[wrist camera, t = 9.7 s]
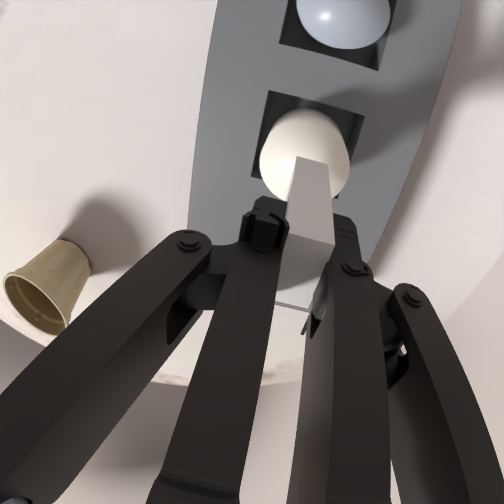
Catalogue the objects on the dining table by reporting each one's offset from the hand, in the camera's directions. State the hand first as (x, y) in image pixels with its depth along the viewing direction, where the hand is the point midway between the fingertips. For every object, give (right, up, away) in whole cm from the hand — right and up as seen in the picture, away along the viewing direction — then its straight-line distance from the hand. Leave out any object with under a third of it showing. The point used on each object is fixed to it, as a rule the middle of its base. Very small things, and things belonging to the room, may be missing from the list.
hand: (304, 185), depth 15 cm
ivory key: (+1, +4, +5) cm, 6 cm away
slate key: (+3, +11, 0) cm, 12 cm away
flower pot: (-24, -4, +20) cm, 32 cm away
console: (+2, +6, +7) cm, 10 cm away
